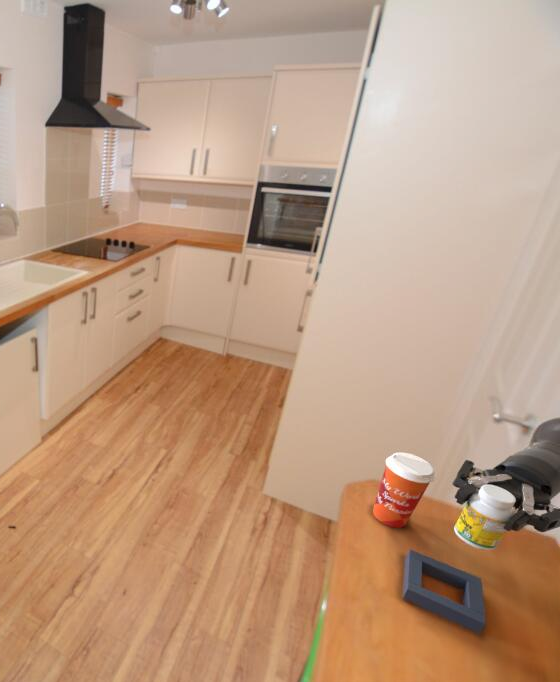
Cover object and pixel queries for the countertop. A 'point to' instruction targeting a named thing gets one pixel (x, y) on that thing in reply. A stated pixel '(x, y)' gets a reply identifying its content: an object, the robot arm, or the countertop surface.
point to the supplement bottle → (485, 517)
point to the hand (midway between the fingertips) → (483, 511)
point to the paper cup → (402, 488)
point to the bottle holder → (463, 615)
